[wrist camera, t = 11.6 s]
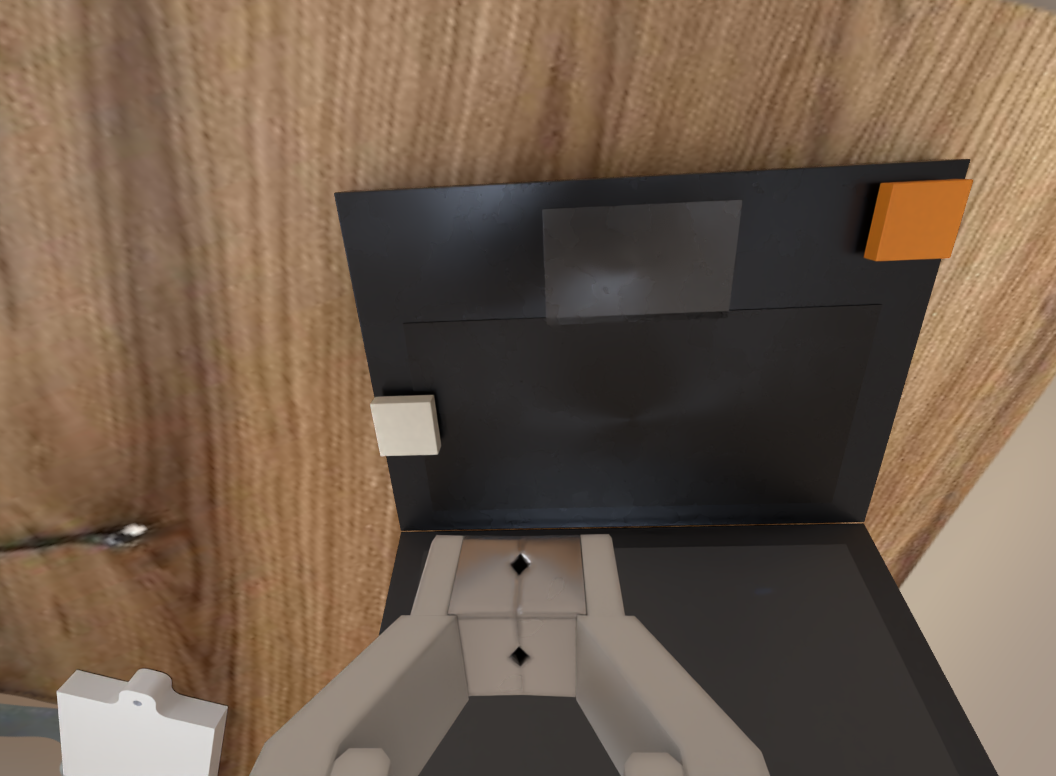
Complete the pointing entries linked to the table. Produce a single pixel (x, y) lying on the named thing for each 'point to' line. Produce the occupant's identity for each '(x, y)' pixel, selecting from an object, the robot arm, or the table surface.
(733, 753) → the robot arm
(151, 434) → the table surface
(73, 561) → the table surface
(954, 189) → the key amber
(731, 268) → the laptop
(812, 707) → the laptop screen
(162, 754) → the mounting plate
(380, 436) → the off-white flat block
